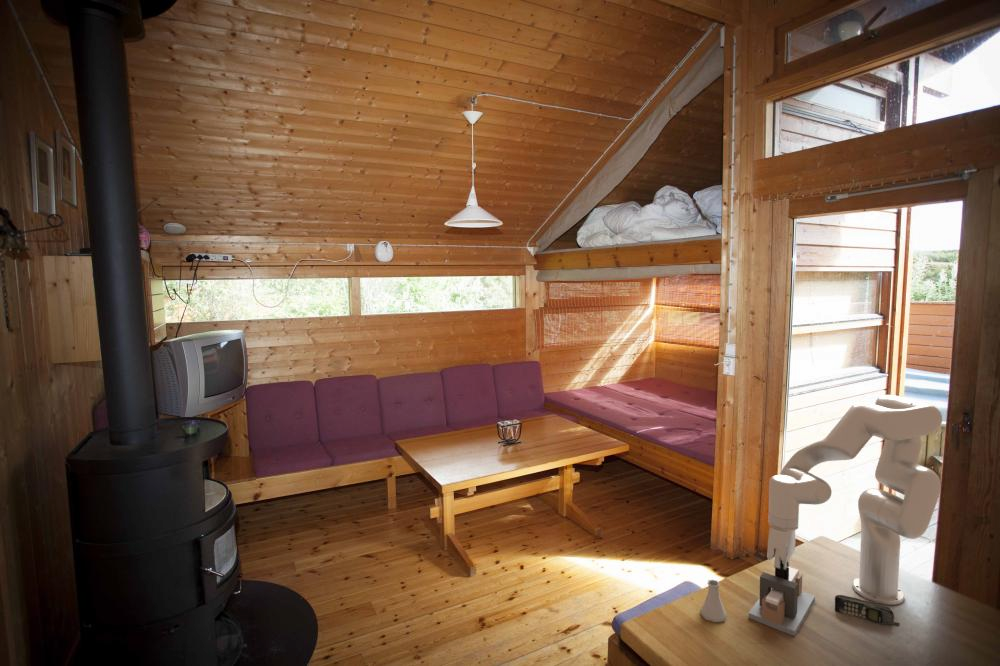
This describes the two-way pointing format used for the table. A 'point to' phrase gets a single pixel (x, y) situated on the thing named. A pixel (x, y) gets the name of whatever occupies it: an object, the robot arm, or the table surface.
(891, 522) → the robot arm
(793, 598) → the collar
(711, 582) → the flask
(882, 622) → the mobile phone
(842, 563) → the table surface
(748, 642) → the table surface
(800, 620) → the pipe stand
